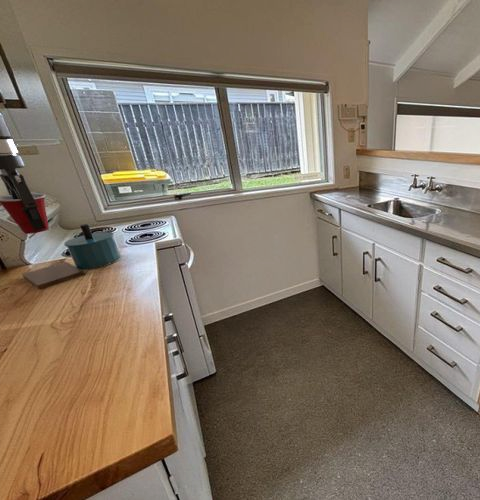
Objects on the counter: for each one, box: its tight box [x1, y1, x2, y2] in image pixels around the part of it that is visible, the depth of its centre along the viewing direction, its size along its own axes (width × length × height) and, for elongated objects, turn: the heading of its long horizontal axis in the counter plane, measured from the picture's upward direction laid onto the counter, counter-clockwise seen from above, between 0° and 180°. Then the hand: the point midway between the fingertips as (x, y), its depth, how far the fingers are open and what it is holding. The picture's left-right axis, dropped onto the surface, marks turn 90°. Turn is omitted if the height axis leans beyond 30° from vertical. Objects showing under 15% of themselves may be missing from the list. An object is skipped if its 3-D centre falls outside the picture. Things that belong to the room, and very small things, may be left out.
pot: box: [66, 236, 121, 271], centre depth 111 cm, size 14×14×10 cm
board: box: [21, 261, 86, 290], centre depth 102 cm, size 12×18×2 cm, turn 59°
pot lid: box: [63, 223, 115, 248], centre depth 108 cm, size 15×15×7 cm
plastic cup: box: [0, 192, 50, 235], centre depth 92 cm, size 11×11×12 cm
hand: (35, 227), depth 93 cm, fingers closed on plastic cup, 8 cm apart
